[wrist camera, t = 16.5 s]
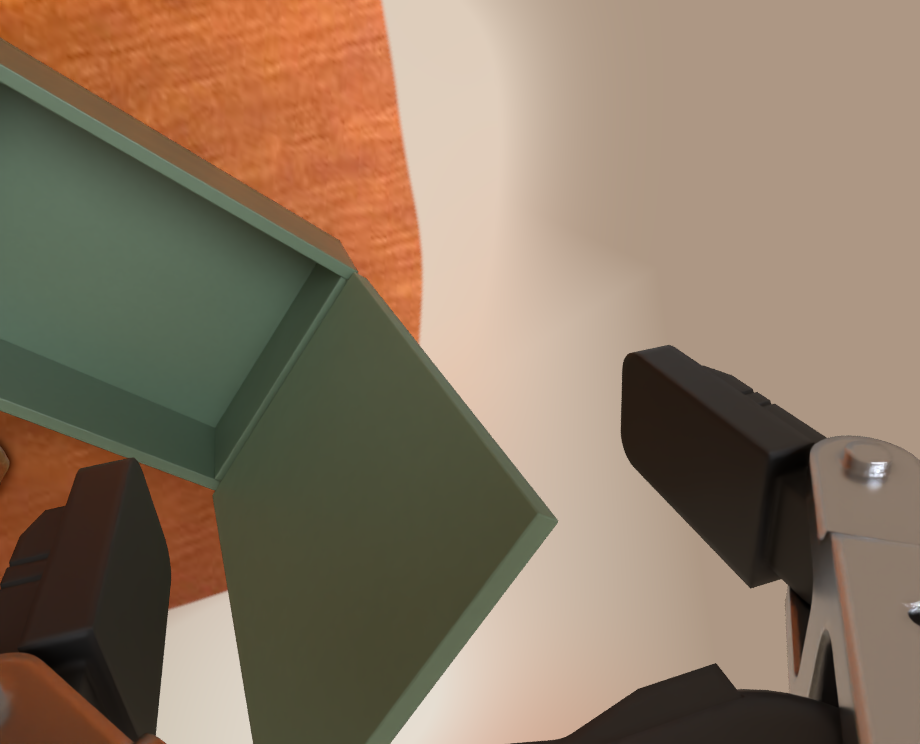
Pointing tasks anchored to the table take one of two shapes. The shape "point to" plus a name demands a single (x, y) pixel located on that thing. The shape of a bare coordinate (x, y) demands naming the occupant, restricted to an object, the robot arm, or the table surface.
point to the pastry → (3, 464)
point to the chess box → (143, 282)
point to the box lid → (364, 533)
